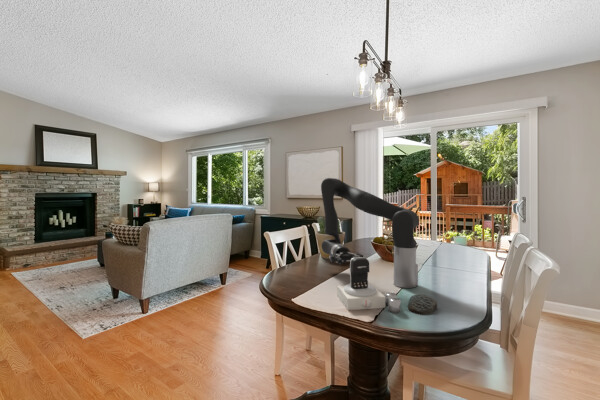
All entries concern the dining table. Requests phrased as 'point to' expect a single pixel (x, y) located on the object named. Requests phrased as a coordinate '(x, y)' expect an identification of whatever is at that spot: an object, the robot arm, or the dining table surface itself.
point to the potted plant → (326, 236)
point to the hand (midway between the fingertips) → (351, 261)
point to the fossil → (422, 304)
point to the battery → (359, 273)
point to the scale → (360, 297)
